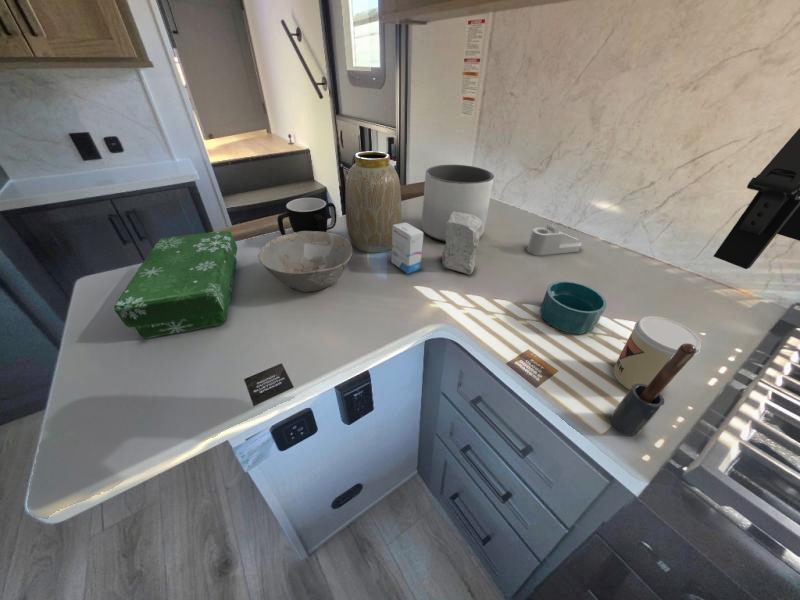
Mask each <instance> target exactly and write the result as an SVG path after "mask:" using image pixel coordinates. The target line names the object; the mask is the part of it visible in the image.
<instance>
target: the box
mask: <svg viewBox="0 0 800 600" xmlns="http://www.w3.org/2000/svg"><path fill="white" fill-rule="evenodd" d="M237 252H238V245H237V243H236V240H235V237H234V235H233V233H232V232H231V231H230V230H222V231H212V232H202V233H194V234H186V235H185V234H184V235H177V236H166V237H161V238H159V239H158V240H157V241H156V243H155V245H154V246H153V247H152V249H151V250H150V251H149V253H148V255H147V256H146V257H145V259H144V260H143V261H142V264H141V265H140V267H139V268H138V269H137V271H136V272H135V274H134V276H133V277H132V278H131V279H130V281H129V283H128V284H127V286H126V287H125V289H124V291H123V292H122V293H121V295H120V297H119V298H118V299H117V300H116V302H115V304H114V305H113V310H114V312H115V314H116V315H117V316H118V317H119V319H120V320H121V322H122V323H123V324H124V325H125V326H126V327H128V328H135V330H136V332H137V333H138V335H139V336H140V337H141V338H142V339H150V338H155V337H160V336H166V335H172V334H173V335H174V334H178V333H184V332H190V331H196V330H200V329H207V328H211V327H218V326H223V325H224V324H225V323H227V318H228V312H229V308H230V304H231V299H232V298H231V297H232V293H233V292H232V291H233V287H234V282H235V281H234V280H235V275H236V270H237V269H236V268H237V263H238V262H237V261H238V260H237V257H236V256H237Z"/></svg>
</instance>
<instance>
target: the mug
mask: <svg viewBox="0 0 800 600" xmlns="http://www.w3.org/2000/svg"><path fill="white" fill-rule="evenodd" d="M285 208H286V212H284V213H281V214H278V216H277V226H278V230H279V233H280V236H282V235H286V234H287V232H286V229H285V223H284V219H286V218H288V221H289V224H290V226H291V229H292V233H294V232H296V233H297V232H300V231H319V232H328V231H331V230H332V229H334V228H335V226H336V224H337V209H336V205H335V203H333V202H327V201H325V200H324V199H321V198H318V197H301V198H300V197H299V198H296V199H292V200H290V201H289V202H287V203H286V205H285ZM328 208H330V216H331V217H330V223H328ZM297 234H298V233H297Z"/></svg>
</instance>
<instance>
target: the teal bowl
mask: <svg viewBox="0 0 800 600" xmlns="http://www.w3.org/2000/svg"><path fill="white" fill-rule="evenodd" d="M606 308H607V300H606V299H605V297H604V296H603V295H602V294H601V293H600V292H599V291H597V290H596V289H594V288H592V287H590V286H589V285H585V284H583V283H579V282H575V281H569V280H560V281H559V280H558V281H554V282H551V283H550V284H549V285H548V286H547V289H546V291H545V294H544V296H543V299H542V302H541V304H540V307H539V312H540V315H541V317H542V319H544V321H545V322H547V323H548V324H549V325H551V326H552V327H554V328H556V329H558V330H560V331H563V332H567V333H570V334H576V335H577V334H578V335H580V334H589V333H590V332H591V333H592V331H594V330H595V328H596V327H597V325H598V324H599V322H600V319H602V316H603V314H604V312H605V310H606Z"/></svg>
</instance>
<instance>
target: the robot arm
mask: <svg viewBox="0 0 800 600" xmlns="http://www.w3.org/2000/svg"><path fill="white" fill-rule="evenodd" d="M746 189H748V190H752V191H757V193H756V194H755V196H754V197H753V198H752V200H750V201H751V202H750V203H749V204H748V205H747V207H746V208H745V210H744V211H743V213H742V214H741V215H740V217H739V218H738V220H737V221H736V223H735V224H734V226H733V227H732V228H731V230H730V232H729V233H728V234H727V235H726V237H725V239H724V240H723V241H722V243H721V244H720V245H719V247H718V248H717V250H716V252H714V254H713V256H712V257H713V258H716V259H719V260H721V261H723V262H726V263H729V264H732V265H735V266H736V267H739V268H742V269H744V270H748V269H750V268H751V267H752V266H753V265H754V263H755V262H756V261H757V259H758V258H759V257H760V256H761V255H762V254H763V253H764V251H765V250H766V249H767V247H768V246H769V245H770V243H771V242H772V241H773V239H774V238H775V237H776V236H777V235H779V236H782V237H786V238H790V239H792V240H796V241H798V242H800V127H799V128H798V129H797V130H796V131H795V133H793V135H792V136H791V137H790V138H789V139H788V141H786V143H785V144H784V145H782V147H781V148H780V150H779V151H778V152H777V153H776V154H775V156H774V157H773V158H772V159H771V160H770V161H769V162H768V163H767V165H766V166H765V167H764V168H763V169H762V170H761V172H759V174H758V175H756V177H754V176H753V177H752V178H751V179H750V180H749V182H748V184H747V186H746Z"/></svg>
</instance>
